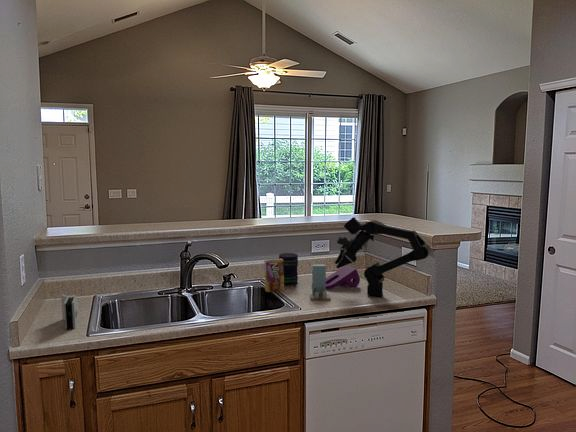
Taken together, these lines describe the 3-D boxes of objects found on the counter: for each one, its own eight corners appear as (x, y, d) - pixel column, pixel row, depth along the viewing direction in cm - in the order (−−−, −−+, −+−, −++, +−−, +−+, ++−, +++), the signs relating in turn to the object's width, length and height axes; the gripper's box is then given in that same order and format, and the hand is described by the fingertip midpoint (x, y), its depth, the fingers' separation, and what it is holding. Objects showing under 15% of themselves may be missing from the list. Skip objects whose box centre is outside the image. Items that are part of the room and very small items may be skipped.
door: (324, 293, 210) (325, 264, 209) (325, 295, 207) (325, 265, 206) (311, 293, 210) (311, 264, 208) (312, 295, 207) (312, 265, 205)
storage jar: (287, 287, 220) (287, 257, 218) (274, 283, 227) (274, 254, 225) (301, 283, 226) (302, 255, 224) (289, 279, 234) (289, 252, 232)
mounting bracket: (333, 302, 216) (362, 283, 221) (327, 288, 213) (356, 268, 219) (324, 296, 224) (351, 278, 230) (318, 283, 222) (346, 264, 227)
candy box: (282, 288, 217) (282, 258, 216) (284, 291, 213) (284, 260, 211) (264, 289, 215) (264, 259, 213) (266, 292, 211) (266, 261, 209)
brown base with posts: (328, 296, 205) (329, 287, 205) (330, 300, 199) (330, 292, 198) (309, 296, 205) (309, 288, 204) (310, 300, 199) (310, 292, 198)
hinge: (62, 319, 174) (60, 294, 173) (77, 317, 177) (76, 292, 176) (65, 330, 163) (64, 304, 161) (81, 328, 165) (80, 302, 164)
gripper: (344, 227, 216) (322, 250, 217) (348, 233, 197) (324, 257, 199) (361, 242, 216) (339, 265, 218) (366, 249, 198) (342, 274, 199)
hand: (336, 265), depth 208 cm, fingers open, 9 cm apart
